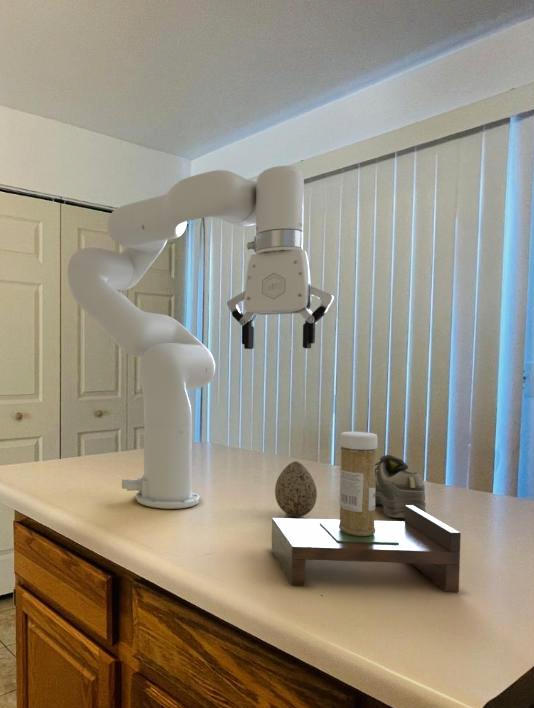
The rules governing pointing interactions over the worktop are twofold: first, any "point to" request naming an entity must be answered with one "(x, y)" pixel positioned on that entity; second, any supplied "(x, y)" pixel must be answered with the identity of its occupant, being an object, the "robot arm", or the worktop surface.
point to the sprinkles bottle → (357, 483)
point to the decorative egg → (295, 490)
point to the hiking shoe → (397, 487)
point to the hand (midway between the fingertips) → (277, 348)
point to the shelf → (371, 545)
